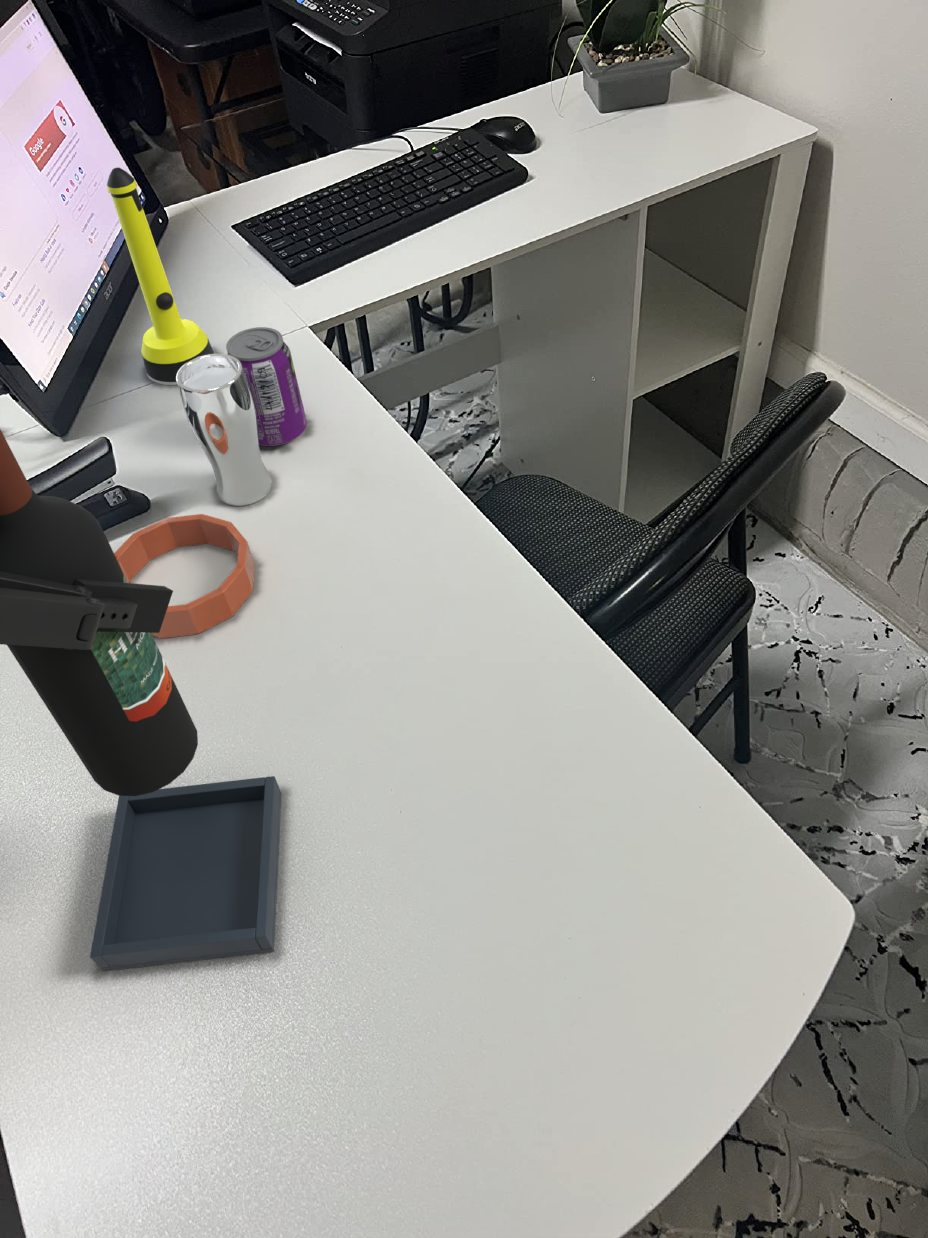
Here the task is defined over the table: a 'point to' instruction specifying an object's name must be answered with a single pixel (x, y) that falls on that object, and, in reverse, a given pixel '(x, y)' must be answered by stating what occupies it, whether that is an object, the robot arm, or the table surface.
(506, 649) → the table surface
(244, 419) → the beer glass
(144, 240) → the flashlight
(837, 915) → the table surface
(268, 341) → the beverage can
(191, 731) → the wine bottle
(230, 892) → the tray
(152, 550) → the faceted bangle
